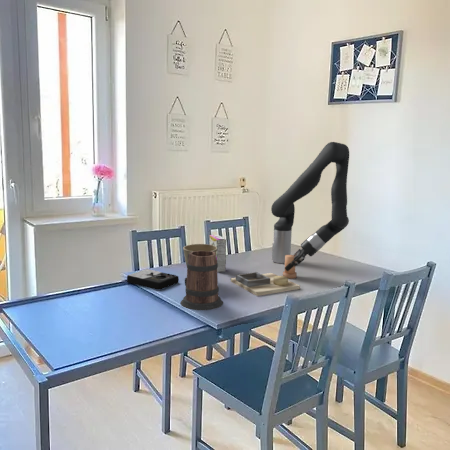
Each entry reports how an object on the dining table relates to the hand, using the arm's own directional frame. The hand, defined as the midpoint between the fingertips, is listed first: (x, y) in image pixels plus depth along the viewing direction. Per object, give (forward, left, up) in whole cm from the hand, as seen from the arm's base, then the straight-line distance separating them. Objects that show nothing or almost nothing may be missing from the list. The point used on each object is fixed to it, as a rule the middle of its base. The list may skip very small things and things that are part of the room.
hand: (286, 267), depth 219 cm
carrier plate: (+7, -16, -4) cm, 18 cm away
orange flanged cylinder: (+1, +2, -4) cm, 5 cm away
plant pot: (-9, -40, -4) cm, 42 cm away
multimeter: (-18, -60, -5) cm, 62 cm away
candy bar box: (-25, -23, -4) cm, 35 cm away
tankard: (+12, -51, -4) cm, 53 cm away
